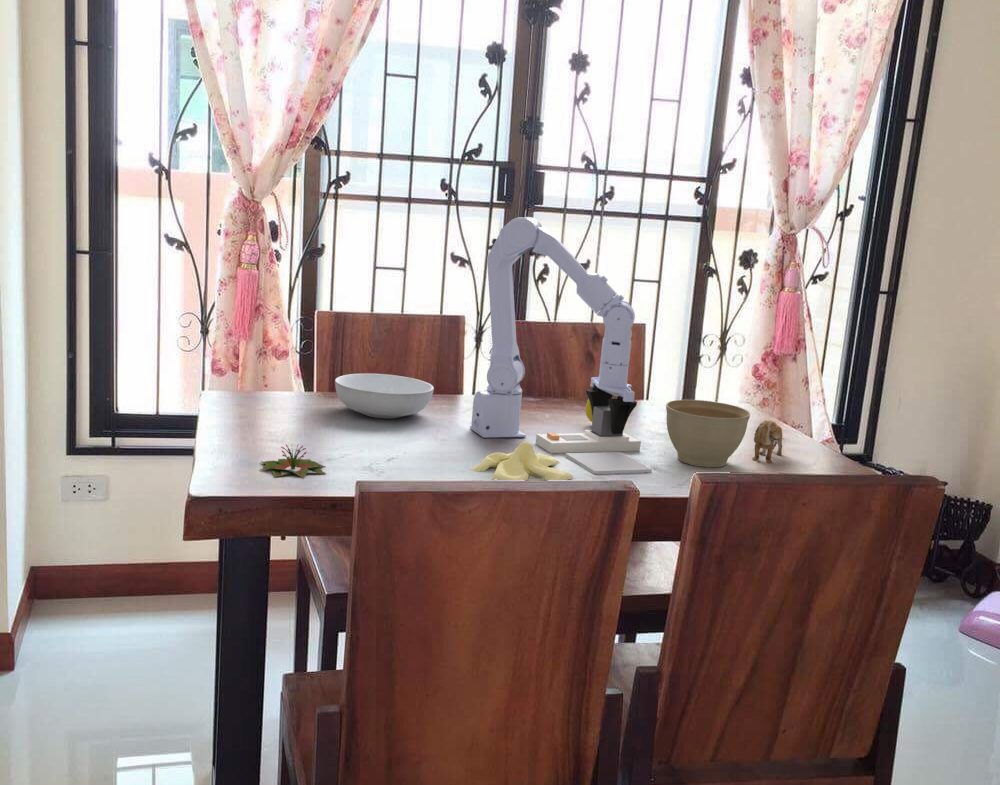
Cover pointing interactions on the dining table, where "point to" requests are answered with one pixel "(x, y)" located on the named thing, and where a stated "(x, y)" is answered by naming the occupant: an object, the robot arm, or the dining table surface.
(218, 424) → the dining table surface
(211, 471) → the dining table surface
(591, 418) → the lemon
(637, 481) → the dining table surface
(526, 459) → the banana peel
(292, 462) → the lily flower
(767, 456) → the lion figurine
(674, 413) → the planter bowl
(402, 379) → the serving bowl
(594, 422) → the block
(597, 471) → the mat
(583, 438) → the power strip
